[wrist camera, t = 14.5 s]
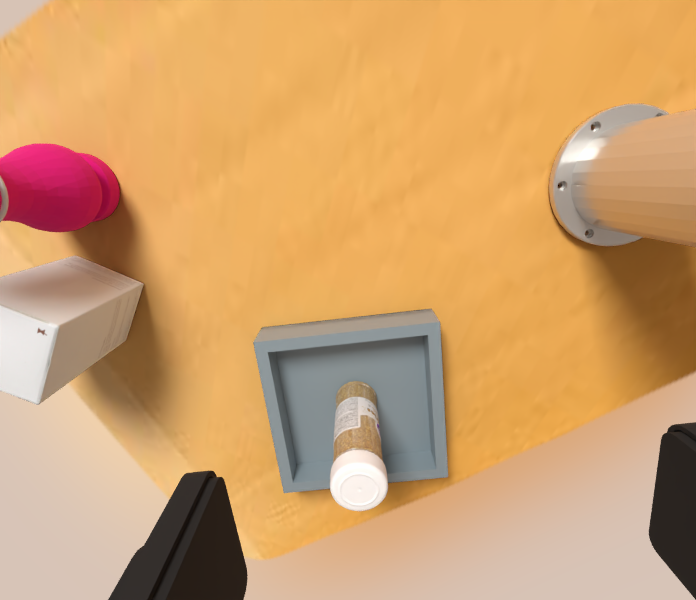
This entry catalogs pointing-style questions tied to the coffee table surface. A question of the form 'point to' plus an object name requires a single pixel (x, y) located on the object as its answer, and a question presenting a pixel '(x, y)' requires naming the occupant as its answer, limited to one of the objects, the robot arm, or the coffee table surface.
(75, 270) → the supplement box
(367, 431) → the sprinkles bottle
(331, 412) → the tray
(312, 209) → the coffee table surface
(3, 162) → the pepper mill
